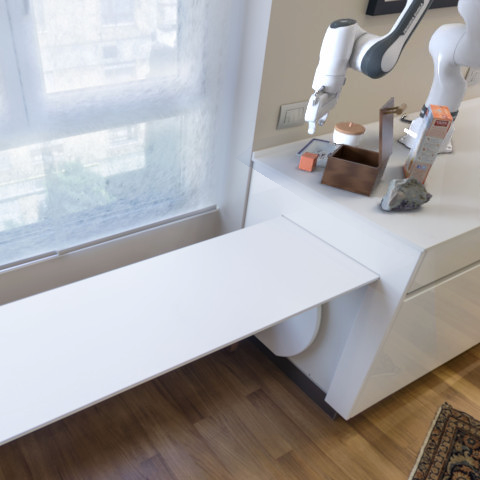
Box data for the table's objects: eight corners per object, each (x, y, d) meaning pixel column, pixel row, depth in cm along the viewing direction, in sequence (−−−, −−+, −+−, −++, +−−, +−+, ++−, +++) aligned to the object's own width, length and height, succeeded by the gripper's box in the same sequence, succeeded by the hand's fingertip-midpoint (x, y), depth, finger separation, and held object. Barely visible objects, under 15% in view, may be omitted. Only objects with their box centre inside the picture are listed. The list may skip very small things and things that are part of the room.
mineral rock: (426, 206, 134) (441, 174, 127) (424, 222, 127) (439, 189, 120) (382, 196, 138) (394, 165, 131) (377, 211, 131) (390, 179, 124)
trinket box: (360, 154, 162) (369, 128, 156) (330, 152, 164) (338, 126, 157) (356, 143, 170) (364, 118, 164) (328, 141, 171) (335, 116, 165)
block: (303, 164, 155) (306, 151, 152) (315, 167, 153) (318, 154, 150) (298, 168, 153) (301, 155, 149) (310, 171, 151) (314, 159, 148)
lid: (379, 109, 123) (399, 106, 120) (391, 97, 131) (410, 94, 128) (378, 168, 132) (397, 167, 129) (389, 153, 140) (407, 152, 137)
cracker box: (424, 185, 144) (454, 119, 130) (404, 182, 146) (432, 116, 131) (421, 168, 154) (449, 105, 140) (403, 166, 155) (428, 103, 141)
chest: (320, 183, 144) (328, 156, 138) (334, 169, 153) (341, 143, 147) (369, 196, 138) (379, 169, 132) (380, 180, 146) (390, 154, 140)
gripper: (326, 92, 127) (314, 140, 136) (348, 77, 139) (335, 122, 149) (306, 88, 129) (295, 136, 139) (328, 74, 142) (317, 118, 151)
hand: (316, 129), depth 144 cm, fingers open, 8 cm apart
